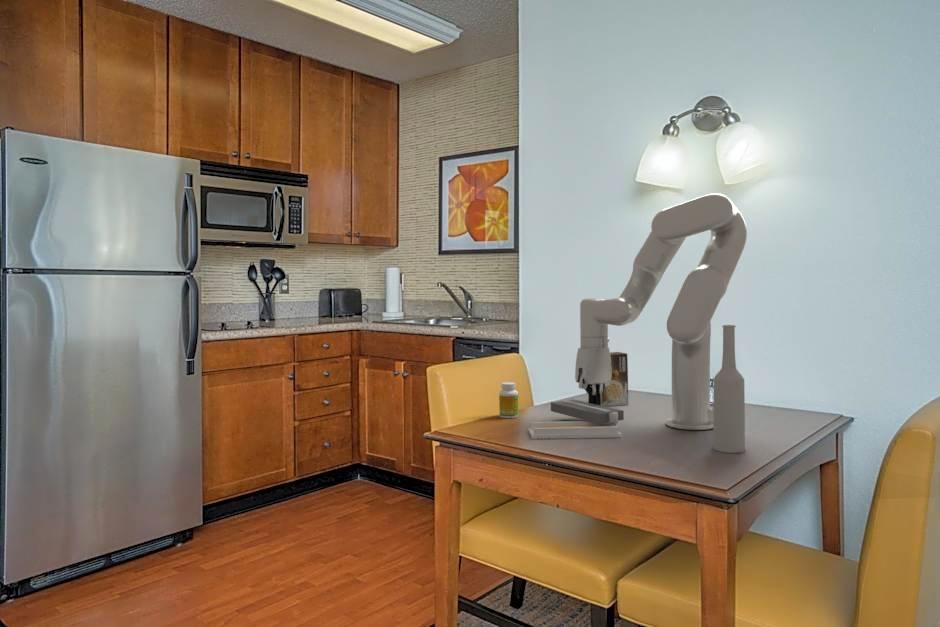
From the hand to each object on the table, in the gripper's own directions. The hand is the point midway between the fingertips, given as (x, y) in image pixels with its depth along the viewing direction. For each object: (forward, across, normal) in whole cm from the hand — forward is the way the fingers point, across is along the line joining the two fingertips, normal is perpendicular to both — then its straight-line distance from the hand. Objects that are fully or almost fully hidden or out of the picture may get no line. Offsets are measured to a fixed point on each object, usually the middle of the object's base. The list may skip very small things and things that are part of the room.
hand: (594, 408), depth 182 cm
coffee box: (+3, -19, -13) cm, 23 cm away
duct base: (+3, +17, +11) cm, 20 cm away
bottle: (+3, 0, +43) cm, 43 cm away
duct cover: (0, +8, +6) cm, 10 cm away
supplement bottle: (+3, +18, -17) cm, 24 cm away
